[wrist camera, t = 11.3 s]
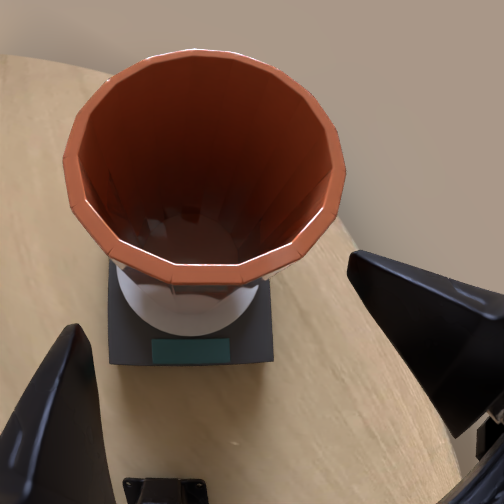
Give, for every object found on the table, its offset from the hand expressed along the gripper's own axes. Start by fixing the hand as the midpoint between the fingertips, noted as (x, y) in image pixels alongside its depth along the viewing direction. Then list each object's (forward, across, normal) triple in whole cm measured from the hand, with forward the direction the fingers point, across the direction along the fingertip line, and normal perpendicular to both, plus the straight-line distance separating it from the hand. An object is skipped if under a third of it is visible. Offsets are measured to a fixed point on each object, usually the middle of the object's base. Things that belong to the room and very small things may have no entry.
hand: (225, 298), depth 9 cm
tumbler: (+9, 0, +4) cm, 10 cm away
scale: (+11, 0, +7) cm, 13 cm away
